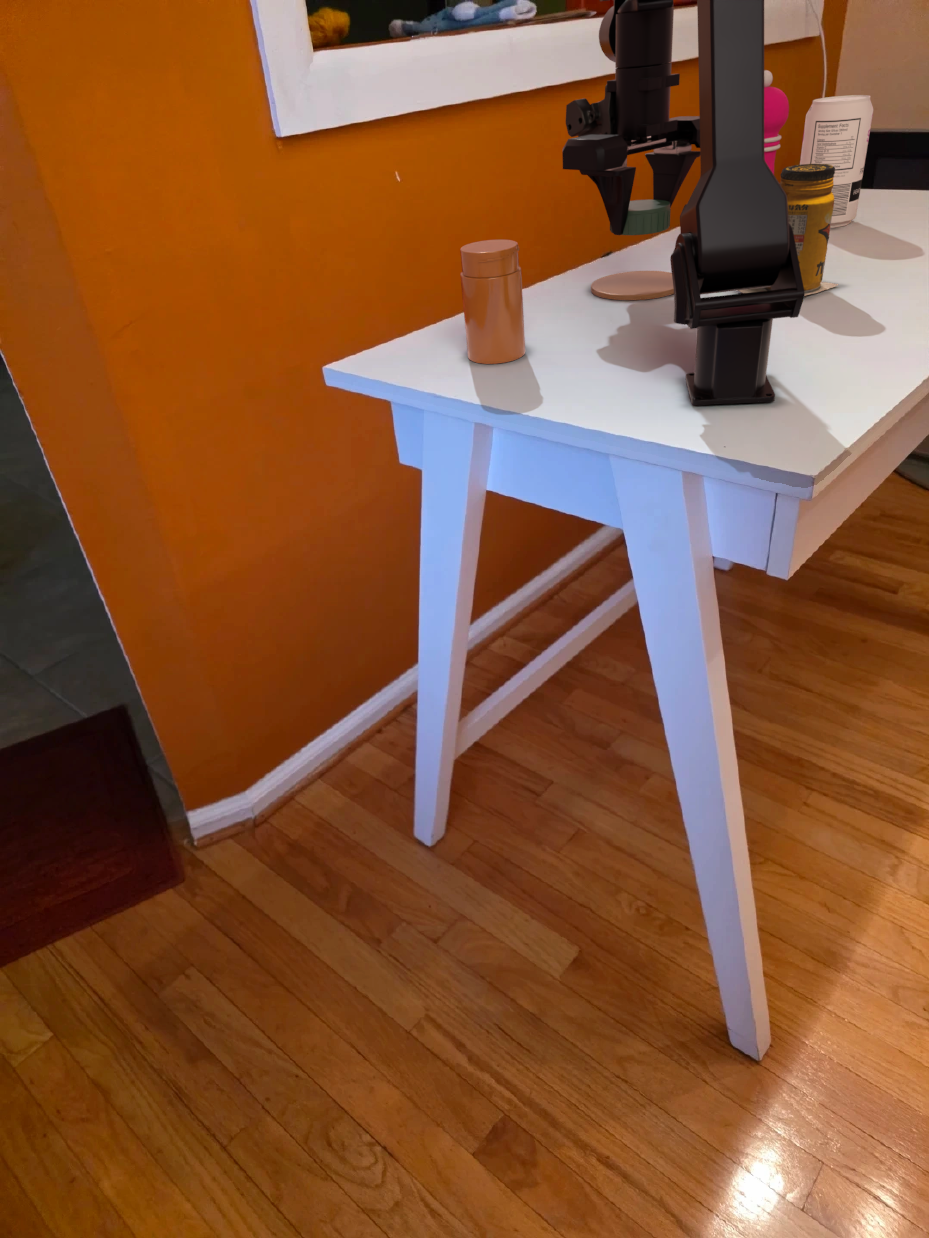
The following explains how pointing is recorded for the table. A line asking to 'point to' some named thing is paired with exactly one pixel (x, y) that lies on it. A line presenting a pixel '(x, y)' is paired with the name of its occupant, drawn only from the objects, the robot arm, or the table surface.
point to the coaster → (634, 285)
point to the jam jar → (492, 301)
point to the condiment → (809, 220)
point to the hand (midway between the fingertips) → (639, 229)
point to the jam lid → (647, 217)
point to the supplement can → (839, 147)
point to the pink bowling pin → (773, 118)
